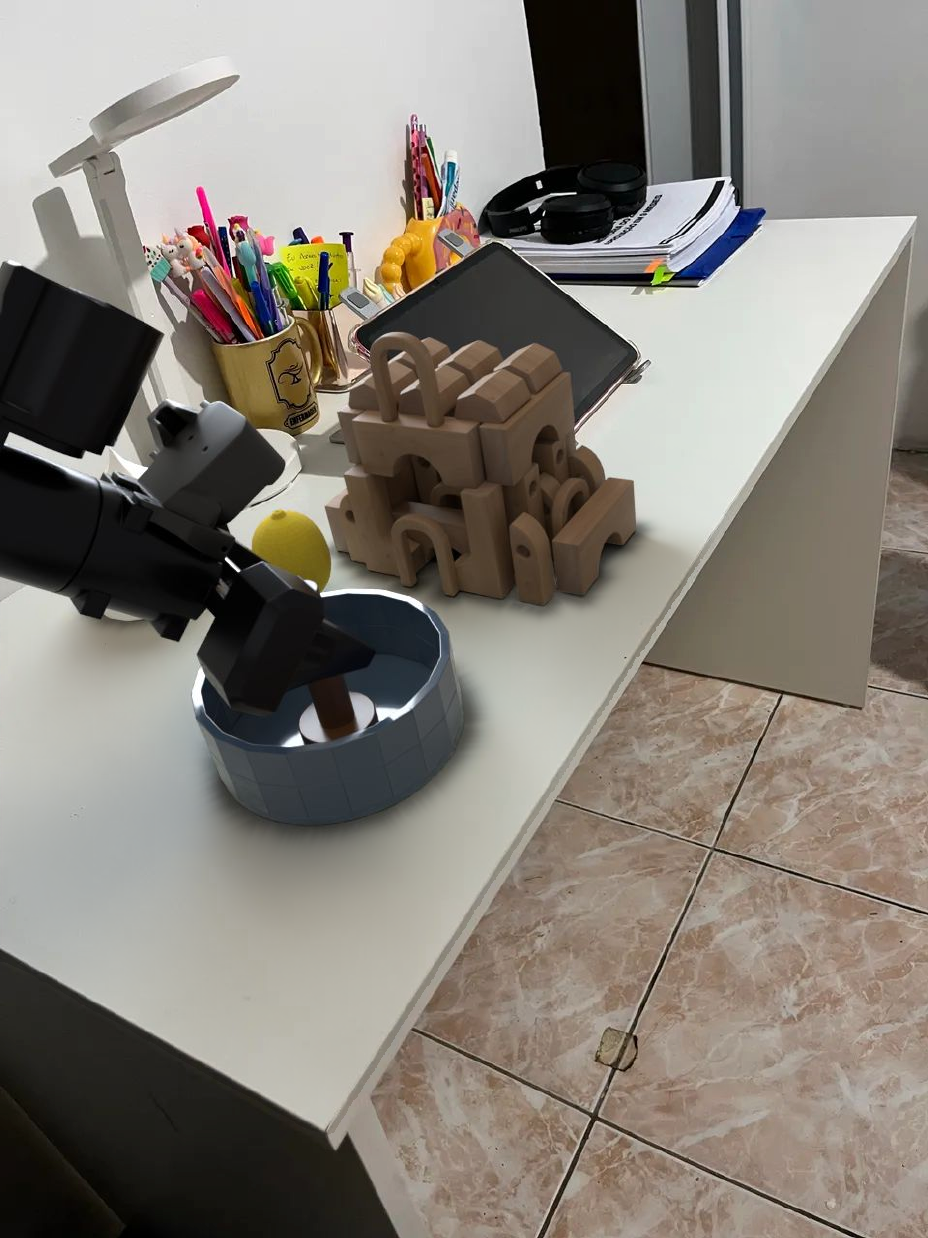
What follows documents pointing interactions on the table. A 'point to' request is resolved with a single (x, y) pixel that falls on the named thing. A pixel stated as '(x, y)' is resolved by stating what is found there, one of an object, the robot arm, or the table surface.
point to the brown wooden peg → (334, 708)
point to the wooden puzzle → (474, 472)
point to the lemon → (294, 546)
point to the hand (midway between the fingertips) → (332, 623)
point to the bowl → (362, 761)
